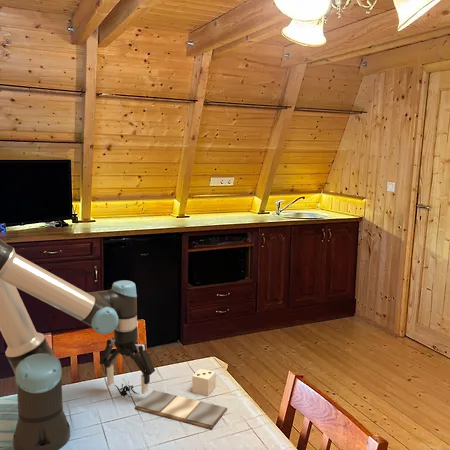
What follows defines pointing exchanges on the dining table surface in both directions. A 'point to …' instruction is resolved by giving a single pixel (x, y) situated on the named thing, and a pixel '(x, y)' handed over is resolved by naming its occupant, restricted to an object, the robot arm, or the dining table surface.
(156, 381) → the dining table surface
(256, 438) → the dining table surface
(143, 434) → the dining table surface
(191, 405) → the board
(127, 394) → the creature
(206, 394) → the die
